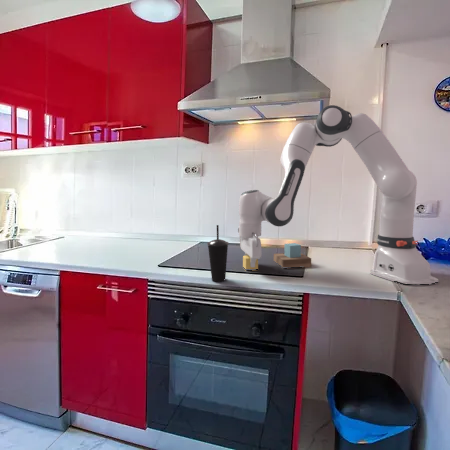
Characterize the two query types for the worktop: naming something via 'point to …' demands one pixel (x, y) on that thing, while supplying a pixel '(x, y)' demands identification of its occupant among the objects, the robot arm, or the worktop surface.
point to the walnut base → (292, 260)
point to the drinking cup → (218, 258)
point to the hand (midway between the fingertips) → (250, 264)
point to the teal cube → (292, 250)
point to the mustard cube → (247, 263)
